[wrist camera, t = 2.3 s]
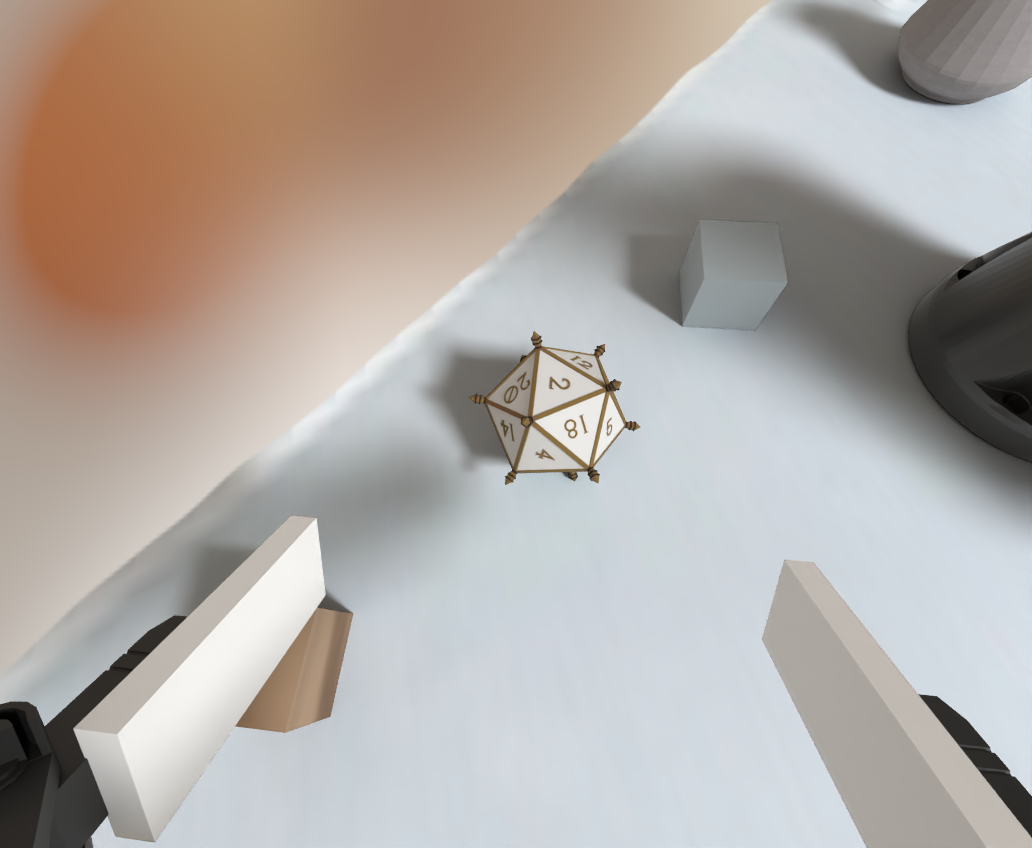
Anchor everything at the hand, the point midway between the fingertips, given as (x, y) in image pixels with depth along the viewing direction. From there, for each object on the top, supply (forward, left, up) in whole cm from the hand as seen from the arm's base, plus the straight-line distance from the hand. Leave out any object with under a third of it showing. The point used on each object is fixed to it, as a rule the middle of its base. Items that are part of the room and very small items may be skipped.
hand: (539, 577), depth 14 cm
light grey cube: (-11, -22, -14) cm, 29 cm away
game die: (0, -10, -14) cm, 18 cm away
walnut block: (+13, +4, -14) cm, 20 cm away
